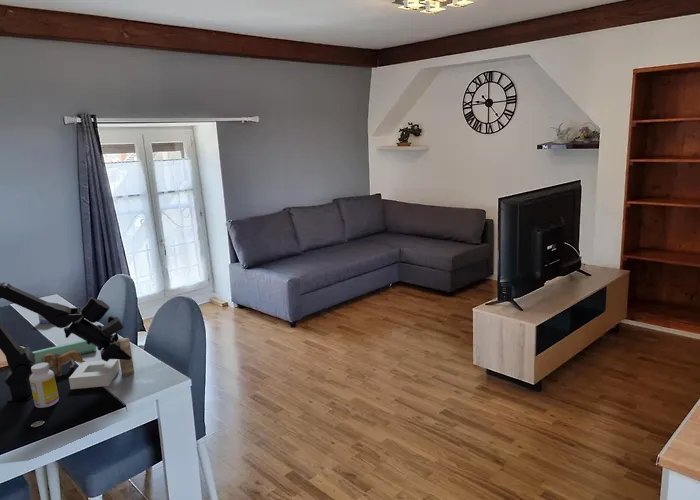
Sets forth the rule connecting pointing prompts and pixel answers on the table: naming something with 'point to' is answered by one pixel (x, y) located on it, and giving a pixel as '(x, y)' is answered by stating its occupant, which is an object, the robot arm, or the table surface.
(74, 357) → the lion figurine
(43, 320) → the medicine box
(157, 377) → the table surface
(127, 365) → the peg
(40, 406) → the supplement bottle
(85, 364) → the socket
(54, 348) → the container
